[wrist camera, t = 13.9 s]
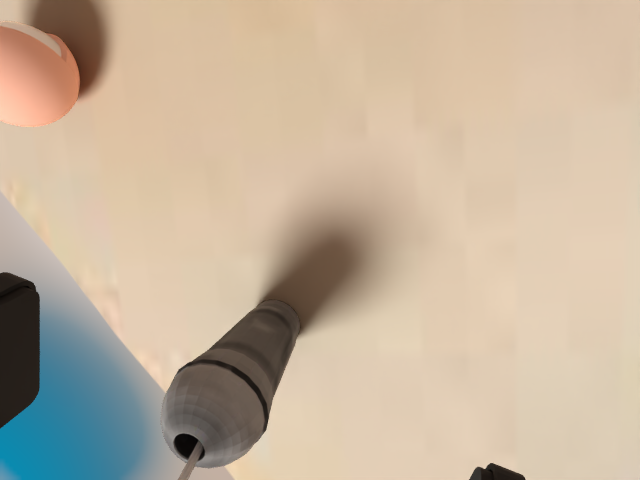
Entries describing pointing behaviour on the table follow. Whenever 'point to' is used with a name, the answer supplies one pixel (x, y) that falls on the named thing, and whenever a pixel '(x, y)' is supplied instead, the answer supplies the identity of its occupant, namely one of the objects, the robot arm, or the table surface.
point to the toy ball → (35, 76)
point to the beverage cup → (229, 389)
